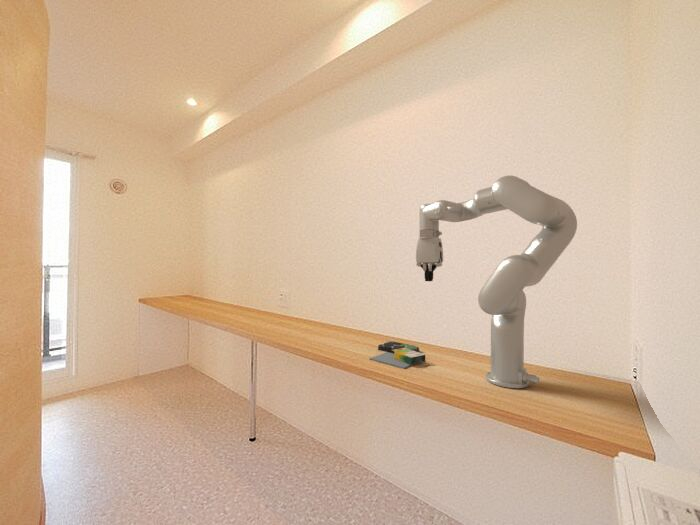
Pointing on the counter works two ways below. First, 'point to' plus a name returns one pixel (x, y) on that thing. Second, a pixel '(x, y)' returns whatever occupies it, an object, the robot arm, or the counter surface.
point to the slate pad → (390, 360)
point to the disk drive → (396, 347)
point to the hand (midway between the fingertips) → (428, 281)
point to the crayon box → (409, 356)
